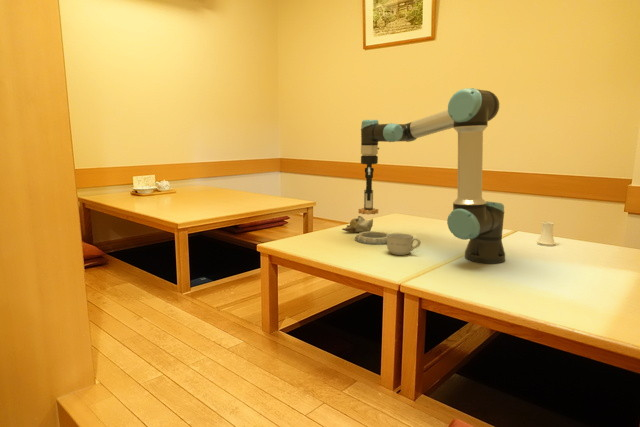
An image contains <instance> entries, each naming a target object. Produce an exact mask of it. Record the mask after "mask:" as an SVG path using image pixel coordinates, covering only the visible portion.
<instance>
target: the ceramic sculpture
mask: <svg viewBox="0 0 640 427" xmlns="http://www.w3.org/2000/svg"><path fill="white" fill-rule="evenodd" d="M373 224H374V219H373V218H372V219H368V220H367V219H365V218H364V217H363V216H361V215H358V216H357V217H356V218H353V219H351V220H350V222H349V224H346V227H345V228H342V229H341V230H343V231H345V232H347V233H352V232H353V233H357V232H359V233H362V232H370V231H371V230H372V228H373ZM371 232H372V231H371Z"/></svg>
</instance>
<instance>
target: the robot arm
mask: <svg viewBox="0 0 640 427" xmlns="http://www.w3.org/2000/svg"><path fill="white" fill-rule="evenodd" d="M499 110H500V101H499V98H498V96H497V95H496V94H495V93H494V92H492V91H490V90H484V89H480V88H479V89H478V88H474V87H473V88H471V87H470V88H469V87H468V88H462V89H459V90H458V91H456V92H454V94H453V95H452V96H451V97H450V99H449V101H448V103H447V109H446V110H443V111H441V112H438V113H434V114H431V115H428V116H425V117H422V118H420V119H416V120H413V121H411V122H408V123H404V124H403V123H394V122H393V123H391V122H390V123H379V120H378V119H363V120H362V121H361V127H360V132H361V133H360V135H361V136H360V142H361V143H360V144H361V145H360V154H361V156H360V164H362V165H366V167H365V168H364V174H365V175H364V178H365V179H366V180H365V182H366V183H365V190H366V192H364V191H363V194H364V193H366V208H372V190H373V185H372V184H373V182H372V181H373V178H374V170H375V169H374V167H373V165H377V164H379V163H378V162H379V161H378V160H379V157H378V154H379V153H378V152H379V150H380V147H379V142H385V143H386V142H388V143H395V142H407V143H410V142H413V141H416V140H417V139H420V138H422V137H425V136H429V135H430V136H431V135H433V134H436V133H439V132H445V131H446V130H450V129H454V131H456V132H457V197H456V199H454V201H453V203H452V211H450V213H449V214H448V215H447V222H446V223H447V227H448V230H449V231H450V233H451V234H452V235H453V236H454V237H455V238H457V239H460V240H468V243H467V246H466V248H465V250H464V258H465V259H466V260H469V261H471V262H475V263H482V264H500V263H504V262H505V261H506V252H505V248H504V245H503V241H502V240H503V229H504V228H503V226H504V217H505V206H504V204H503V203H501V202H497V201H489V200H488V201H486V200H484V198H483V159H484V158H483V151H484V150H483V149H484V148H483V146H484V145H483V142H484V131H485V130H486V129H487V127H488V126H489V125H488V123H489V121H492V120H493V119H494V118H495V117H496V116H497V115H498V113H499Z"/></svg>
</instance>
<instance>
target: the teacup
mask: <svg viewBox="0 0 640 427" xmlns="http://www.w3.org/2000/svg"><path fill="white" fill-rule="evenodd" d="M414 241H417V244H416V245H415V246H414V245H413V244H414ZM386 246H387V250H388V251H389V252H390V253H391V254H392V255H397V256H405V255H406V256H407V255H408V254H409V253H410V252H413V251H414V250H415V249H417V248H418V247H419V246H421V240H420V239H419V237H414V235H413V234H409V233H403V232H402V233H401V232H400V233H399V232H397V233H396V232H395V233H394V232H393V233H388V234H387V244H386Z"/></svg>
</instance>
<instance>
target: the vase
mask: <svg viewBox="0 0 640 427" xmlns="http://www.w3.org/2000/svg"><path fill="white" fill-rule="evenodd" d="M554 225H555V223H554V222H552V221H541V232H540V236H539V238H538V239H537V241H536V244H537V245H539V246H543V247H555V246H556V241H555V239H554Z"/></svg>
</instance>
